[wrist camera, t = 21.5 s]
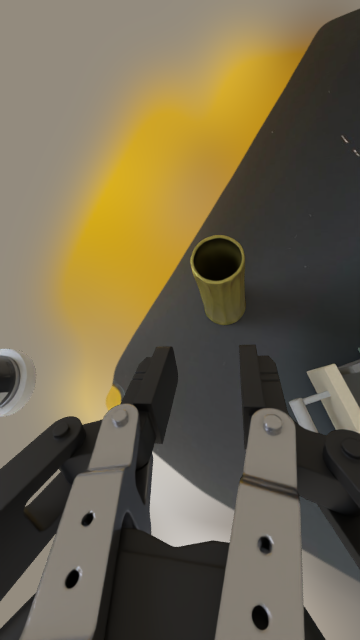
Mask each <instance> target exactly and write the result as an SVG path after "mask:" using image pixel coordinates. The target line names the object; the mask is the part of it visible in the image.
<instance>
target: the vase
mask: <svg viewBox="0 0 360 640" xmlns="http://www.w3.org/2000/svg"><path fill="white" fill-rule="evenodd" d="M190 263H191V268H192V272H193V275H194V277H195V280H196V282H197V285H198V287H199V290H200V294H201V298H202V301H203V303H204V309H205V313H206V315H207V316H208V318H209V319H210V320H212V321H213V322H214V323H217V324H221V325H229V324H232V323H234V322H236V321H238V320H239V319H240V318H241V317H242V315H243V314H244V312H245V308H246V302H245V284H244V272H245V256H244V251H243V248H242V246H241V245H240V244H239V243H238V242H237V241H236V240H234V239H232V238H230V237H228V236H223V235H214V236H211V237H208V238H205V239H203V240H202V241H201V242H199V243H198V244H197V245H196V247H195V248H194V250H193V252H192V255H191V260H190Z"/></svg>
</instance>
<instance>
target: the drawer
mask: <svg viewBox="0 0 360 640" xmlns="http://www.w3.org/2000/svg"><path fill="white" fill-rule="evenodd" d="M307 374H308V376H309V378H310V380H311V382H312V384H313V386H314V388H315V390H316V392H317V394H315V395H312V396H309V397H307V398H304V399H302V398H297V399H294V400H291V401H289V404H290V406H291V408H292V410H293V412H294V415H295V417H296V419H297V421H298V423H299V425H300V426H301V427H303V428H305V429H307V430H310V431H313V432H316V433H318V431H317V429H316V427H315V425H314V423H313V421H312V419H311V417H310V415H309V413H308V411H307V409H306V406H305V405H307V404H309V403H312V402H315V401H318V400H321V402H322V404H323V406H324V407H325V409H326V411H327V413H328V415H329V417H330V419H331V421H332V423H333V425H334V427H335V429H336V430H338V429H347V430H351V431H355V432H357V433H360V359H359V360H357V361H354V362H351V363H348V364H345V365H343V366H340V367H337V366H336V364H331V365H327V366H324V367H320V368H316V369H313V370H310V371H307Z"/></svg>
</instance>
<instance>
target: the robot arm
mask: <svg viewBox="0 0 360 640" xmlns="http://www.w3.org/2000/svg"><path fill="white" fill-rule="evenodd" d="M239 353H240V377H241V395H242V411H243V428H244V445H245V449H246V456H245V463H244V470H243V475H242V477H241V478H240V482H239V487H238V493H237V499H236V506H235V512H234V519H233V525H232V532H231V538H230V543H226V542H219V541H208V542H202V543H197V544H191V545H186V546H181V547H173V546H170V545H168V544H167V543H165V542H163V541H161V540H159V539H157V538H156V537H154V536H152V535H151V522H150V512H149V508H150V507H149V506H150V494H151V480H152V466H153V455H152V450H153V447H154V443H158V444H163V440H164V436H165V432H166V428H167V424H168V420H169V416H170V412H171V408H172V403H173V399H174V395H175V391H176V387H177V383H178V371H177V366H176V361H175V356H174V351H173V348H172V347H156V349H155V351H154V354H153V356H152V357H146V358H145V359H144V360H143V361H142V362H141V363H140V364H139V366H138V368H137V370H136V374H134V376H133V380H132V381H131V383H130V385H129V387H128V389H127V391H126V393H125V396H124V398H123V400H122V402H121V404H120V405H117V406H115V407H113V408H112V409H110V410H109V411H108V412H107V413H106V415H105V416H104V418H103V420H100V421H96V422H92V423H88V424H84V425H82V423H81V421H80V420H79V419H78V418H77V417H65V418H62V419H60V420H58V421H56V422H55V423H54V424H52V425H51V426H50V427H49V428H47V429H46V430H45V431H44V432H43V433H42V434H41V435H39V436H38V437H37V438H36V439H35V440H34V441H32V442H31V443H30V444H29V445H28V446H27V447H25V448H24V449H23V450H22V451H21V452H20V453H19V454H17V455H16V456H15V457H14V458H13V459H12V460H10V461H9V462H8V463H7V464H6V465H5V466H3V467H2V468H1V469H0V601H1V600H2V598H3V597H4V596H5V595H6V594H7V592H8V591H9V590H10V589H11V588H12V586H13V585H14V584H15V583H16V581H17V580H18V579H19V578H20V577H21V575H22V574H23V573H24V571H25V570H26V569H27V568H28V567H29V566H30V564H31V563H32V562H33V561H34V559H35V558H36V557H37V556H38V554H39V553H40V552H41V551H42V550H43V548H44V547H45V546H46V545H47V544H48V542H49V541H50V540H51V539H52V537H53V536H54V535H55V534H56V536H55V538H54V541H53V544H52V547H51V550H50V553H49V556H48V559H47V562H46V565H45V568H44V571H43V574H42V577H41V580H40V583H39V586H38V589H37V592H36V593H35V594H34V595H33V596H32V597H31V598H30V599H29V600H28V601H27V602H26V603H25V604H24V605H23V606H22V607H21V608H20V609H19V611H17V612H16V613H15V615H14V616H12V618H11V619H10V620H9V621H8V622H7V623H6V624H5V625H4V626H3V627H2V628H1V629H0V640H325V638H324V637H323V635H322V633H321V632H320V630H319V629H318V627H317V626H316V624H315V622H314V621H313V619H312V618H311V616H310V615H309V613H308V611H307V610H306V609H305V607H304V605H303V579H302V548H301V518H300V498H299V496H301V497H303V498H305V499H307V500H310V501H312V502H314V503H317V504H318V506H319V507H320V509H321V510H322V512H323V514H324V515H325V517H326V518H327V520H328V521H329V523H330V524H331V526H332V527H333V529H334V530H335V532H336V534H337V535H338V537H339V538H340V540H341V541H342V543H343V544H344V546H345V547H346V549H347V550H348V552H349V554H350V555H351V557H352V558H353V560H354V561H355V563H356V564H357V566H358V567H359V569H360V433H357V432H355V431H351V430H347V429H338V430H334V431H332V432H330V433H329V434H328V435H327V436H326V435H323V434H320V433H316V432H313V431H310V430H307V429H305V428H303V427H301V426H300V425H298V424H297V423H296V422H295V421H294V420H293V419H292V418H291V417H290V415H289V413H288V411H287V407H286V403H285V399H284V395H283V391H282V387H281V383H280V379H279V375H278V371H277V367H276V363H275V362H274V361H273V360H272V359H271V358H270V357H269V356H257V350H256V345H239ZM19 383H20V370H19V366H18V364H17V363H16V361H15V360H14V359H12V358H11V357H9V356H4V355H0V408H2V407H4V406H5V405H7V404H8V403H9V402H10V401H11V400H12V398H13V397H14V396H15V394H16V392H17V390H18V387H19ZM58 469H59V470H60V471H61V472H60V473H59V474H58V475H57V476H56V478H54V479H53V481H52V482H51V483H50V484H49V485H48V486H47V487H46V488H45V489H44V490H43V491H42V492H41V493H40V494H39V495H38V496H37V497H36V498H35V499H34V500H33V501H32V502H31V503H30V504H29V505H28V506H26V507H25V505H26V503H27V501H28V500H29V499H30V498H31V497H32V496H33V495H34V493H36V492H37V491H38V490H39V489H40V487H41V486H42V485H43V484H44V483H45V482H46V481H47V480H48V479H49V478H50V477H51V476H52V475H53V474H54V473H55V472H56V471H57V470H58Z"/></svg>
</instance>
